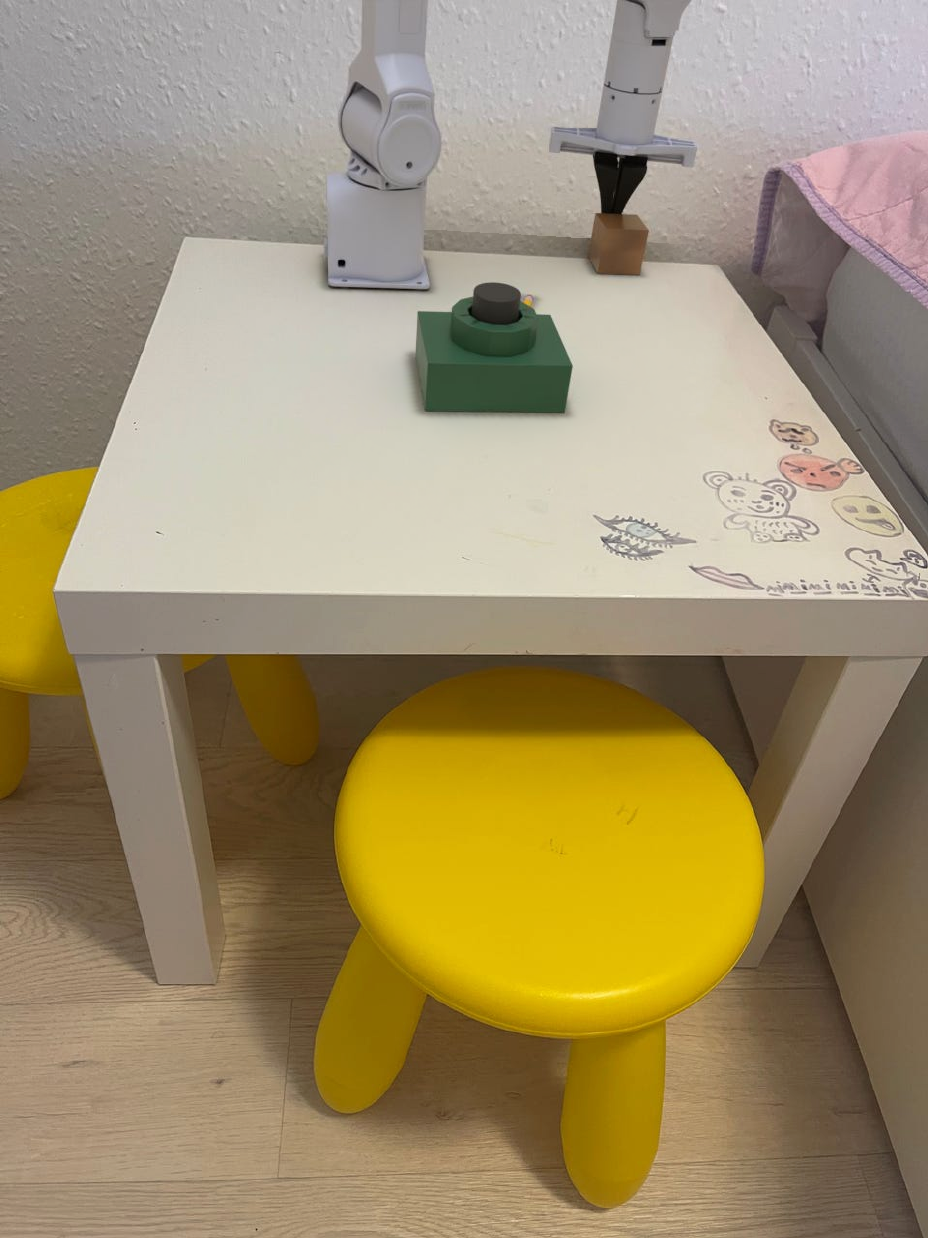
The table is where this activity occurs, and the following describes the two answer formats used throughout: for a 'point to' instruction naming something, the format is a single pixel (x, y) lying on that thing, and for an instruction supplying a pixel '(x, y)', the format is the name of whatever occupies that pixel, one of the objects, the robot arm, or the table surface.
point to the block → (617, 243)
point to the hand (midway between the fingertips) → (607, 230)
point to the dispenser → (491, 362)
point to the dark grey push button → (496, 303)
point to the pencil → (528, 300)
